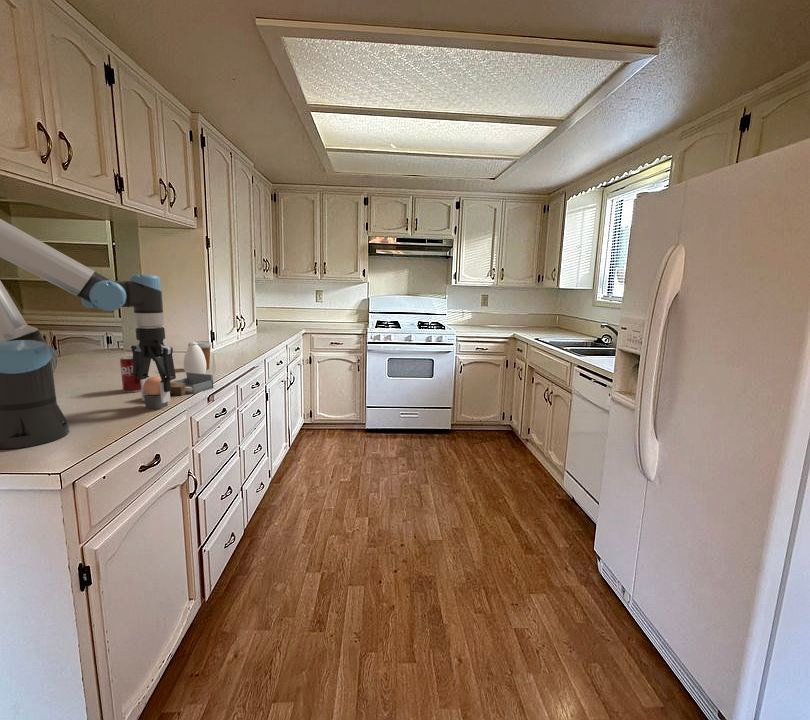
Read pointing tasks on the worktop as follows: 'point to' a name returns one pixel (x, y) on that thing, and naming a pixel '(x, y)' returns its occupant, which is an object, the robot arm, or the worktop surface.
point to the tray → (197, 382)
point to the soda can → (129, 375)
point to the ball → (152, 386)
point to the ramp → (177, 388)
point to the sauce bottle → (194, 359)
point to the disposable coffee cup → (205, 350)
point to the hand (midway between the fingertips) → (156, 400)
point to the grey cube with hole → (154, 402)
